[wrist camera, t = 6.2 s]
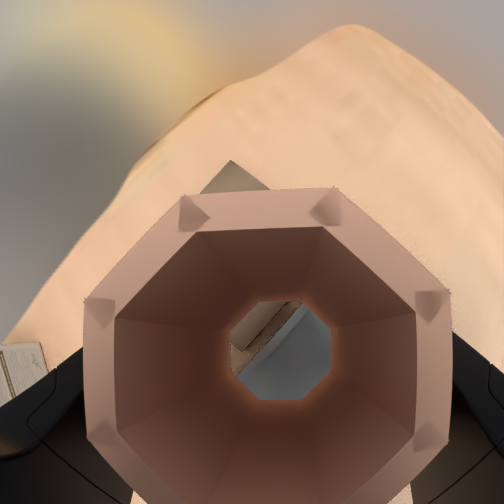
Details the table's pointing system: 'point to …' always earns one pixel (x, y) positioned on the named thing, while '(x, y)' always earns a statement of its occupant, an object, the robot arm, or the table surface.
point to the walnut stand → (263, 312)
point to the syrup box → (20, 368)
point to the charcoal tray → (290, 359)
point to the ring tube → (219, 361)
